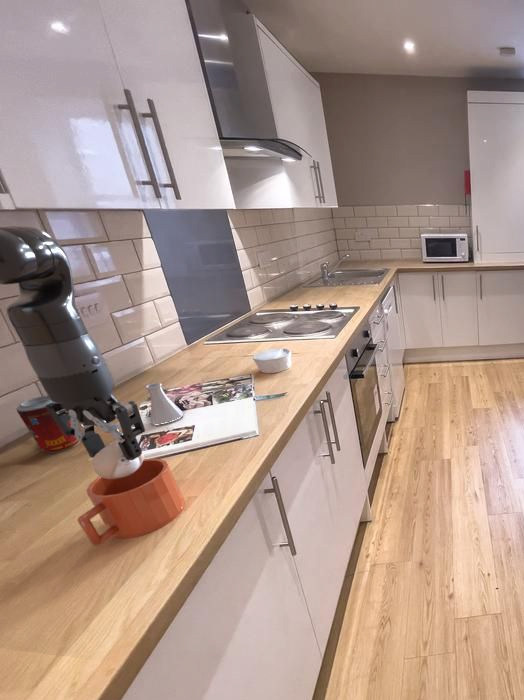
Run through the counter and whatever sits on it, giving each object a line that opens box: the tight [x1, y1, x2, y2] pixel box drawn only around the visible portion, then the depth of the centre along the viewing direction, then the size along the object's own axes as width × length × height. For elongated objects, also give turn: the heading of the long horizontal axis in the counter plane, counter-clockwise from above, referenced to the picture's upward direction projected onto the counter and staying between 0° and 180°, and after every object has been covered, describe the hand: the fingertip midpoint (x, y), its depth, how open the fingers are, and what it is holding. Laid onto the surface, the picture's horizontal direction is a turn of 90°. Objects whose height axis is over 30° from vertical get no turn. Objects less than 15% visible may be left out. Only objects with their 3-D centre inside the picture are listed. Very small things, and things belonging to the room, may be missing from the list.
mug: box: [77, 458, 186, 547], centre depth 72 cm, size 14×11×9 cm
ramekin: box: [252, 347, 292, 374], centre depth 138 cm, size 11×11×5 cm
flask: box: [145, 382, 184, 424], centre depth 106 cm, size 7×7×10 cm
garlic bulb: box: [91, 430, 145, 479], centre depth 70 cm, size 7×6×8 cm
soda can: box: [16, 395, 81, 454], centre depth 94 cm, size 7×7×12 cm
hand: (117, 456), depth 70 cm, fingers closed on garlic bulb, 6 cm apart
